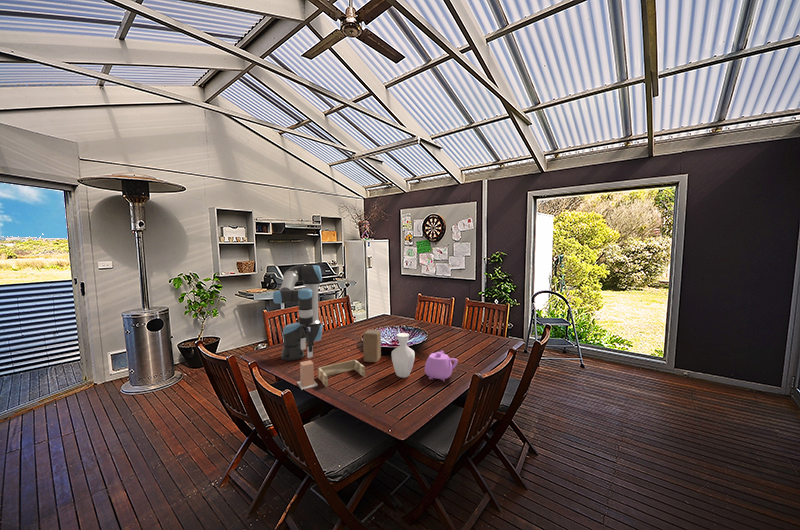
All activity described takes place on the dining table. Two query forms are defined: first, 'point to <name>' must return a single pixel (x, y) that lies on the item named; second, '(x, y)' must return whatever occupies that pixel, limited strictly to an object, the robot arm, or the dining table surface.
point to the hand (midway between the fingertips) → (306, 353)
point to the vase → (403, 356)
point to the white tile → (307, 386)
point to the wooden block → (372, 345)
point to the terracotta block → (306, 373)
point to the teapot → (439, 365)
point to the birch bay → (339, 370)
